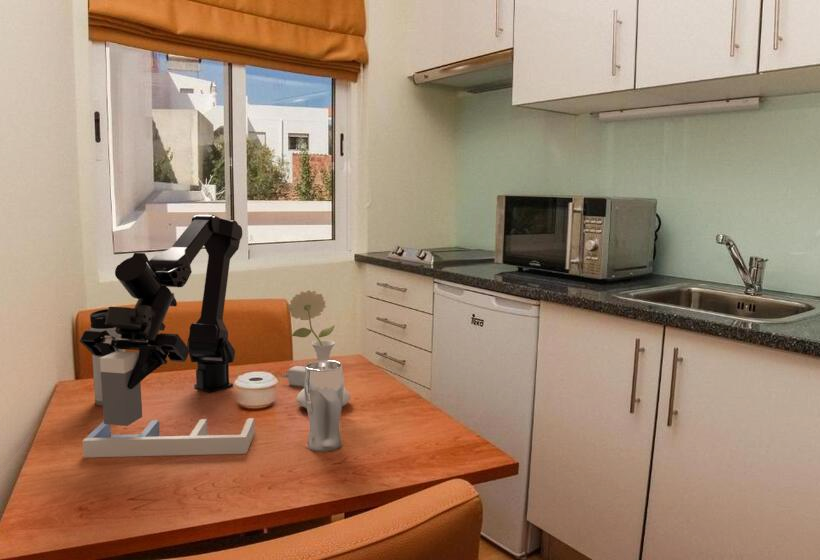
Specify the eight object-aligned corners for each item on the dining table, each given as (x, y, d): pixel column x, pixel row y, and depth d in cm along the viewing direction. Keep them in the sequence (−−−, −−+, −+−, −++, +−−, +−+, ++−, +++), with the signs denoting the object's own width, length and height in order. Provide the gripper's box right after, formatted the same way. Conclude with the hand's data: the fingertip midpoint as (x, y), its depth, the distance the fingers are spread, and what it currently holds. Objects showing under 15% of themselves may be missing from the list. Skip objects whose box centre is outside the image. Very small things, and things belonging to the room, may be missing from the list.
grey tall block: (119, 415, 115) (116, 351, 113) (142, 416, 115) (138, 352, 113) (104, 424, 111) (99, 357, 109) (127, 425, 110) (123, 359, 108)
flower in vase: (351, 397, 141) (351, 286, 137) (348, 415, 129) (348, 295, 126) (293, 397, 140) (291, 285, 137) (284, 415, 129) (282, 294, 125)
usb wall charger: (304, 388, 147) (304, 371, 146) (279, 384, 149) (278, 368, 149) (313, 383, 151) (313, 367, 150) (288, 379, 153) (287, 363, 152)
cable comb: (254, 433, 119) (254, 418, 119) (246, 453, 110) (246, 437, 110) (104, 436, 117) (103, 421, 116) (83, 457, 108) (82, 440, 107)
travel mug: (133, 397, 139) (129, 307, 136) (117, 407, 132) (111, 313, 130) (106, 395, 139) (101, 306, 137) (88, 405, 133) (83, 312, 130)
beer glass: (350, 440, 116) (350, 361, 114) (333, 455, 110) (333, 372, 108) (316, 435, 119) (315, 358, 116) (298, 449, 112) (296, 368, 110)
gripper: (82, 286, 115) (42, 361, 106) (177, 290, 112) (145, 368, 102) (112, 319, 124) (78, 391, 114) (201, 324, 120) (173, 398, 111)
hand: (116, 387), depth 110 cm, fingers closed on grey tall block, 4 cm apart
